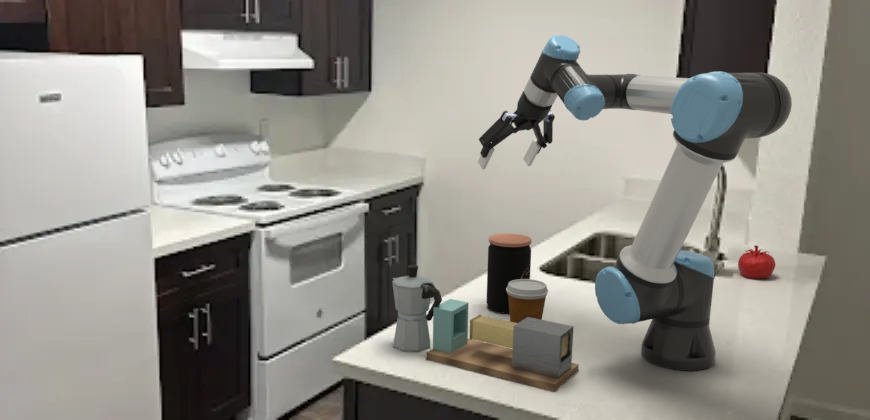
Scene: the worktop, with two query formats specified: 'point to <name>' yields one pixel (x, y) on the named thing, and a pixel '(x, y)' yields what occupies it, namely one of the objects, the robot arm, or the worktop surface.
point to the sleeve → (541, 347)
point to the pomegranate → (756, 264)
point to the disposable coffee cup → (526, 299)
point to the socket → (450, 325)
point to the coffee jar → (506, 267)
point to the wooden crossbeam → (499, 332)
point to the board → (496, 364)
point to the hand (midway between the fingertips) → (504, 164)
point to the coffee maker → (413, 310)
